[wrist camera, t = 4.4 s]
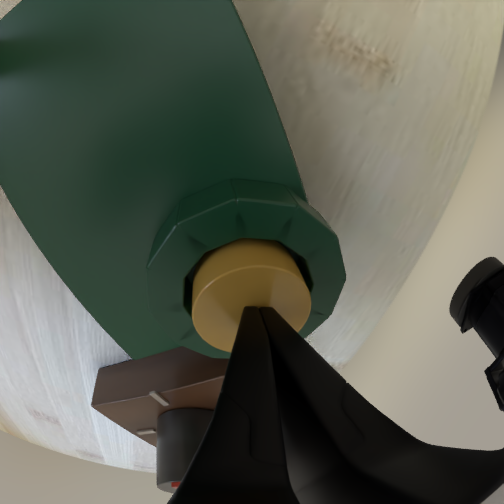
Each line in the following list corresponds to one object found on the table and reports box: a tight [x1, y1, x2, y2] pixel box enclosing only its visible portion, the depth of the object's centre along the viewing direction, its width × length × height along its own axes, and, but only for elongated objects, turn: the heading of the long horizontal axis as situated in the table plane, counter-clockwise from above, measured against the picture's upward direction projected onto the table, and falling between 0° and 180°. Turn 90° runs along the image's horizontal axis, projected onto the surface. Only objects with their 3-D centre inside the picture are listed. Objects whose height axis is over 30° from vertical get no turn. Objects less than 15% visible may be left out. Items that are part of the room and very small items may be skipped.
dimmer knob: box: [157, 408, 214, 493], centre depth 13 cm, size 4×4×5 cm
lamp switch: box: [192, 238, 311, 352], centre depth 9 cm, size 4×4×2 cm
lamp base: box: [0, 0, 346, 360], centre depth 9 cm, size 16×10×4 cm, turn 21°
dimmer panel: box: [91, 346, 229, 447], centre depth 17 cm, size 9×10×3 cm
